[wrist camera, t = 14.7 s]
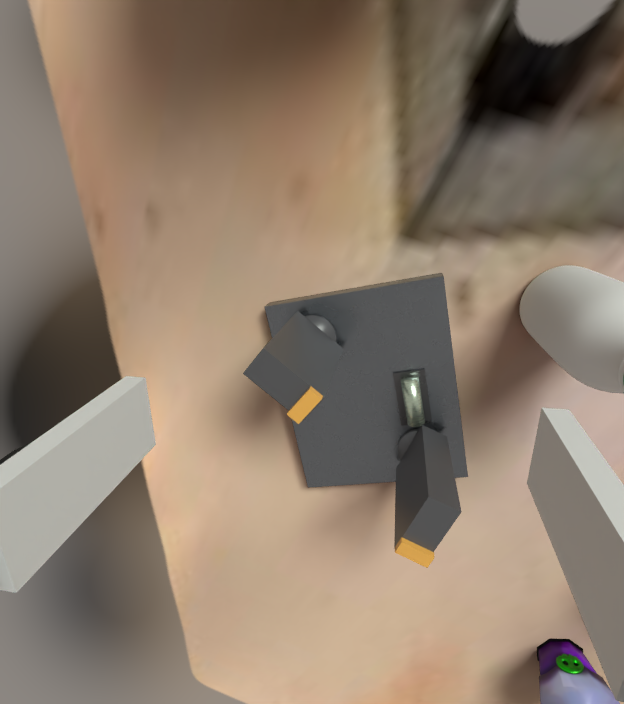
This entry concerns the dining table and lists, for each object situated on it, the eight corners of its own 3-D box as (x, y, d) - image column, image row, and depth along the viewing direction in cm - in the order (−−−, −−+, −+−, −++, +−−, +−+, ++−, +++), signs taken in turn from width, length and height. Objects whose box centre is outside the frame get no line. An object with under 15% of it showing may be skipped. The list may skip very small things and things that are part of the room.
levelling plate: (269, 302, 48) (259, 310, 45) (441, 272, 44) (445, 279, 40) (311, 477, 54) (304, 496, 51) (465, 466, 50) (470, 486, 47)
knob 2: (412, 416, 47) (417, 495, 35) (454, 435, 47) (474, 522, 34) (387, 459, 49) (383, 549, 37) (427, 478, 49) (436, 574, 37)
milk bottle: (510, 339, 45) (588, 439, 26) (525, 261, 42) (623, 311, 24) (594, 346, 44) (738, 456, 25) (615, 266, 41) (792, 323, 22)
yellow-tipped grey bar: (278, 335, 47) (233, 385, 35) (305, 301, 45) (269, 340, 33) (322, 371, 48) (293, 433, 35) (351, 338, 46) (331, 392, 33)
